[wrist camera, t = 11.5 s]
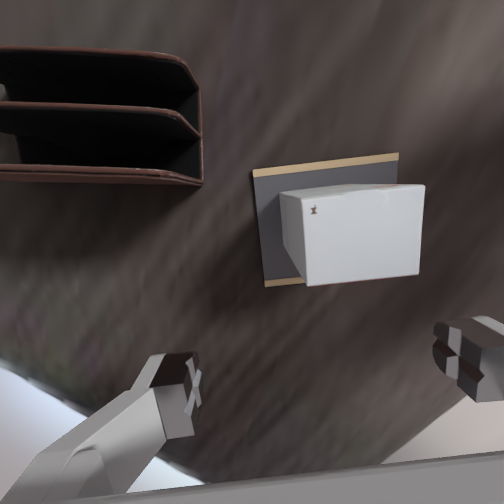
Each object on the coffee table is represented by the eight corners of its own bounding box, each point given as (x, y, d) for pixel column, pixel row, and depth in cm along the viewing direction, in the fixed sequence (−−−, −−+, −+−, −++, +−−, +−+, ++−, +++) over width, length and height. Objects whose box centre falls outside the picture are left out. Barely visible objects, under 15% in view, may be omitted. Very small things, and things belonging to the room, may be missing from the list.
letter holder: (205, 186, 29) (164, 186, 16) (32, 182, 29) (-163, 179, 15) (202, 88, 27) (150, -14, 13) (13, 83, 26) (-240, -24, 13)
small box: (282, 245, 30) (304, 288, 18) (278, 191, 29) (298, 196, 16) (350, 238, 30) (422, 276, 17) (349, 183, 28) (427, 181, 16)
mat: (396, 152, 28) (398, 152, 27) (392, 272, 32) (394, 273, 31) (252, 170, 28) (252, 169, 28) (264, 285, 32) (265, 286, 32)
